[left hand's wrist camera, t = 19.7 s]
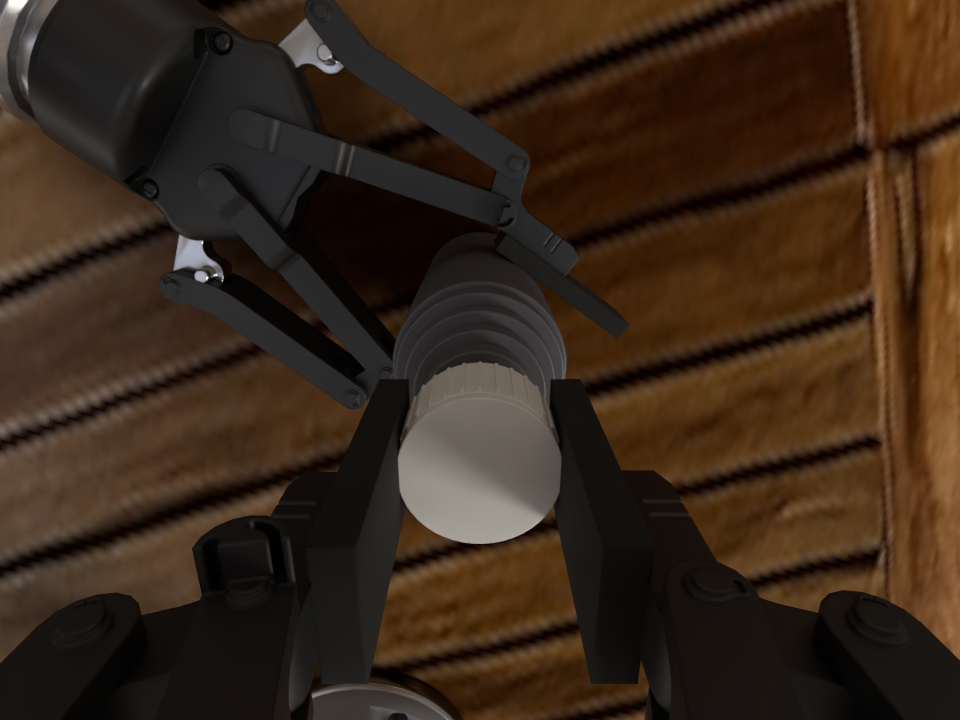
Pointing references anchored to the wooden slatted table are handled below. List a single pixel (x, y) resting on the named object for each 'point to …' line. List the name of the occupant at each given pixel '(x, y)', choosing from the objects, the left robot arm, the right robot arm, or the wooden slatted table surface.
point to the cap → (479, 454)
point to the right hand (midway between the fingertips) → (569, 378)
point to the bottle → (478, 318)
